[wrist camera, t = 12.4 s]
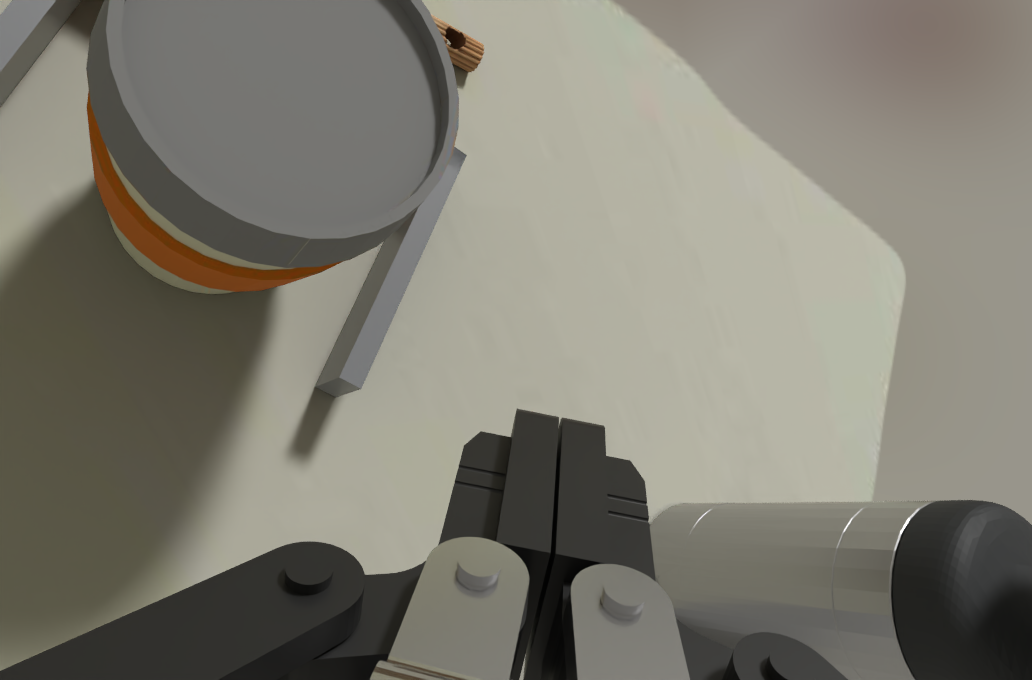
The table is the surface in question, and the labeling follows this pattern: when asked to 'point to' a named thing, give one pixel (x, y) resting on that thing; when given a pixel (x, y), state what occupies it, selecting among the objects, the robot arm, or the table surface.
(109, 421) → the table surface
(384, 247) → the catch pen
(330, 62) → the reusable coffee cup
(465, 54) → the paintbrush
